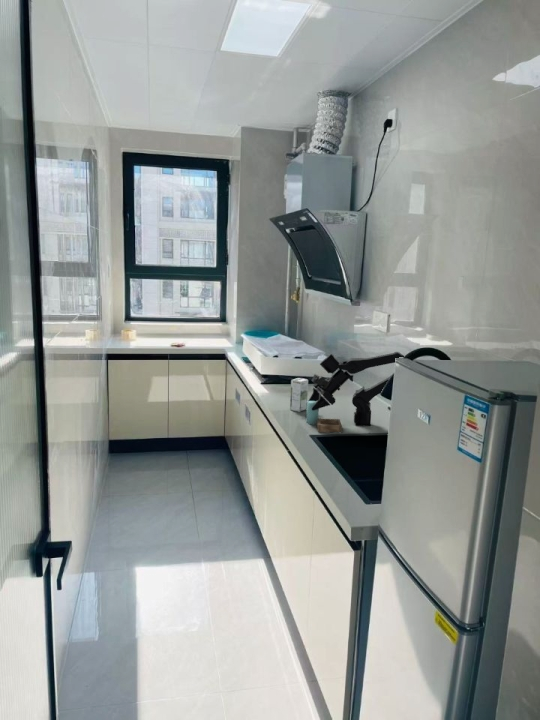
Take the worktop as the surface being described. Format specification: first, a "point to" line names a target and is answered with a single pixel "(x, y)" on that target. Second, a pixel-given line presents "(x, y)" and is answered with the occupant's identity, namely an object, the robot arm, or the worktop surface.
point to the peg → (312, 413)
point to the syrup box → (299, 394)
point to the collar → (329, 425)
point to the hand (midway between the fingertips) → (309, 407)
